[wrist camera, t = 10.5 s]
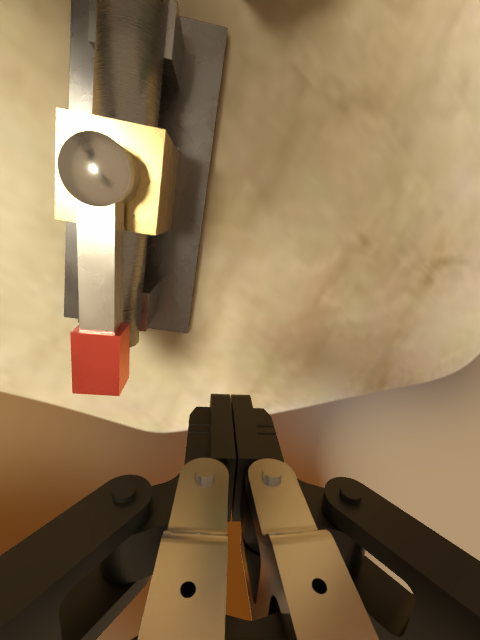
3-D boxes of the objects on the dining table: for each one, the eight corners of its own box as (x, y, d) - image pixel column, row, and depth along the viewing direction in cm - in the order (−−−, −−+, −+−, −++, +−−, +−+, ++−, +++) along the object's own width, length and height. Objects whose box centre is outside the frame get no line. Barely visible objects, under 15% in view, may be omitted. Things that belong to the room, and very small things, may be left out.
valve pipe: (77, -2, 25) (3, -118, 16) (227, 34, 26) (233, -56, 17) (68, 313, 31) (13, 350, 23) (188, 329, 33) (178, 370, 24)
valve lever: (75, 136, 19) (54, 125, 17) (140, 145, 20) (129, 135, 17) (81, 374, 23) (65, 392, 21) (134, 377, 24) (125, 396, 21)
